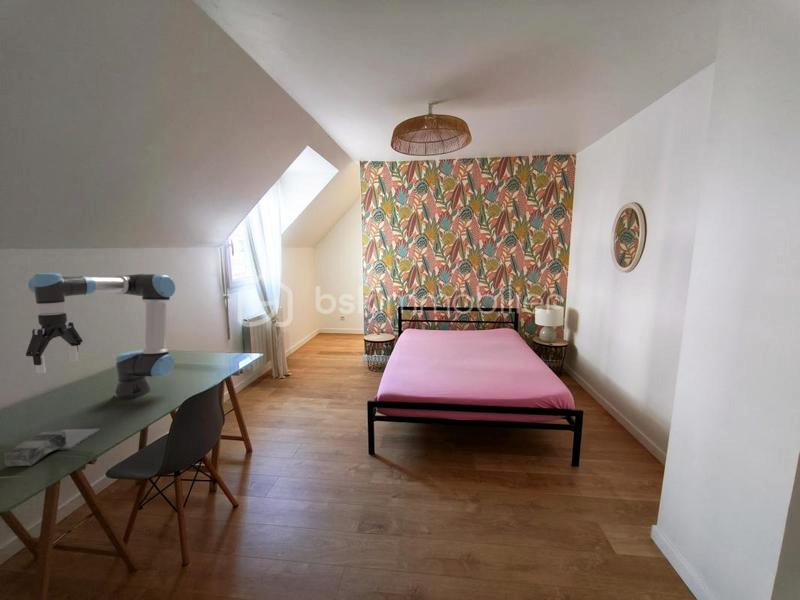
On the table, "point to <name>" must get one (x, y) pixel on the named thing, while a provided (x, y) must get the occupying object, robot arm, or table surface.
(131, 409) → the table surface
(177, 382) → the table surface
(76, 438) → the slate pad
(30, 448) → the stone block
